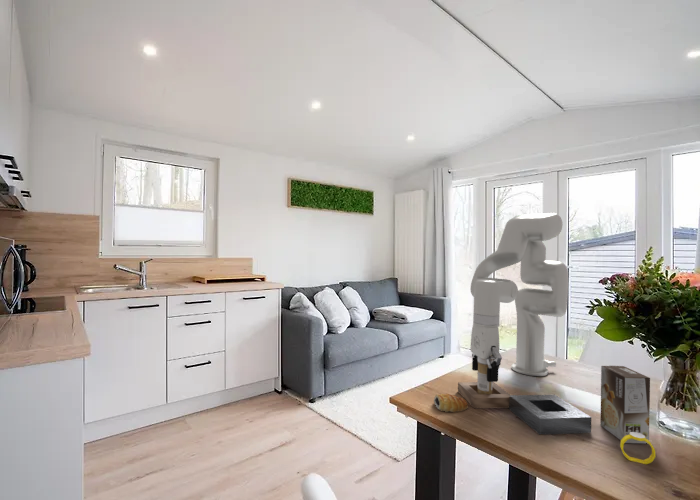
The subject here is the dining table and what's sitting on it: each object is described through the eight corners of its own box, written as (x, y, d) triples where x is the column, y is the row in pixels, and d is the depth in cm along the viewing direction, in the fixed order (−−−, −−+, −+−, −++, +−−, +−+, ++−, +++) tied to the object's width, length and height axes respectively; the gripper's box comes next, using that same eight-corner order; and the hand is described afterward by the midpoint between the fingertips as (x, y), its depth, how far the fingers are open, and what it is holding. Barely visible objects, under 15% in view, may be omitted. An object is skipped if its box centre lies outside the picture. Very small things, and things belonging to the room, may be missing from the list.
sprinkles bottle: (495, 400, 109) (496, 356, 109) (486, 403, 107) (487, 359, 107) (482, 395, 113) (483, 352, 113) (473, 398, 110) (474, 355, 110)
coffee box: (650, 444, 86) (652, 378, 86) (623, 443, 86) (625, 377, 86) (622, 425, 95) (624, 365, 95) (598, 424, 95) (599, 364, 95)
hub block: (554, 408, 105) (554, 394, 105) (591, 432, 91) (591, 417, 91) (509, 409, 103) (509, 395, 103) (539, 434, 89) (539, 418, 89)
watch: (622, 462, 79) (620, 434, 79) (620, 455, 81) (618, 429, 82) (657, 468, 76) (655, 440, 76) (653, 461, 79) (651, 434, 79)
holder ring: (493, 390, 116) (493, 381, 116) (513, 407, 104) (514, 397, 104) (457, 391, 115) (458, 382, 115) (474, 408, 103) (474, 398, 103)
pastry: (462, 402, 108) (462, 390, 108) (472, 413, 101) (472, 399, 101) (432, 403, 107) (432, 390, 107) (440, 414, 100) (440, 400, 100)
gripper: (462, 314, 118) (461, 366, 118) (488, 325, 101) (486, 386, 101) (484, 315, 119) (482, 366, 118) (513, 326, 101) (511, 386, 101)
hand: (484, 375), depth 109 cm, fingers open, 9 cm apart
